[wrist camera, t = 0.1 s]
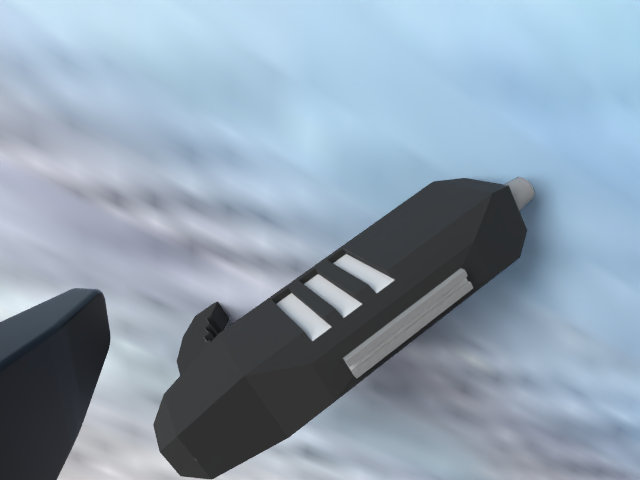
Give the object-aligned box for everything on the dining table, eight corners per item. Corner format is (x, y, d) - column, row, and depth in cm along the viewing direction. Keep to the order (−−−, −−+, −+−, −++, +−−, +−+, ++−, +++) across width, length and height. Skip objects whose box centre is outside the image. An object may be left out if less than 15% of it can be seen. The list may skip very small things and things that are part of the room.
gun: (431, 194, 29) (588, 229, 20) (162, 386, 26) (206, 532, 17) (409, 146, 28) (563, 161, 19) (125, 340, 25) (151, 469, 16)
